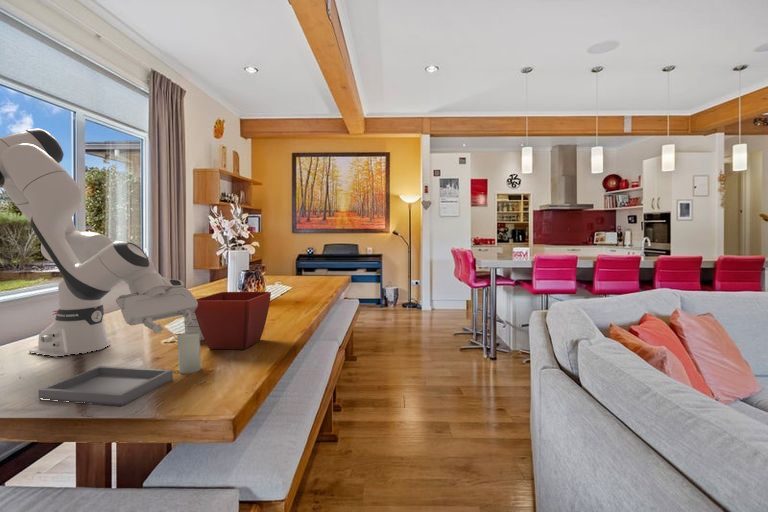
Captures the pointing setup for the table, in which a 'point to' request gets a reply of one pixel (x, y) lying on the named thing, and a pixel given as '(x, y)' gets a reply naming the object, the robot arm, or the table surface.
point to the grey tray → (107, 385)
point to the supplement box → (194, 326)
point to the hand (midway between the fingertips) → (175, 327)
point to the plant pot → (232, 318)
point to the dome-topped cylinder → (189, 352)
